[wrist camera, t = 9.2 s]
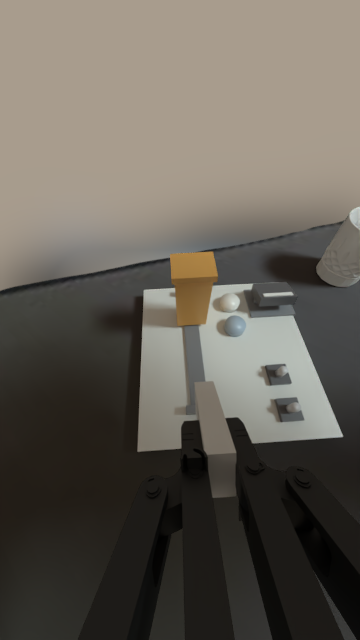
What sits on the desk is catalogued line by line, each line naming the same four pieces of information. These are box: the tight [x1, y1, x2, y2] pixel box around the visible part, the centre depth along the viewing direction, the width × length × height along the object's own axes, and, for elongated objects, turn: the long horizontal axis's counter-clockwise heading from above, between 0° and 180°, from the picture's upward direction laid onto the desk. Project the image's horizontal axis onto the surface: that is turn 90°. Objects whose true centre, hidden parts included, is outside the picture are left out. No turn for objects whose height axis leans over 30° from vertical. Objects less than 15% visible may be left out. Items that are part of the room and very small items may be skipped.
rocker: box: [251, 282, 298, 307], centre depth 29 cm, size 5×4×2 cm
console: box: [137, 282, 343, 452], centre depth 28 cm, size 22×22×4 cm
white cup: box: [316, 207, 360, 287], centre depth 33 cm, size 8×8×10 cm
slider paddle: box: [170, 252, 218, 326], centre depth 25 cm, size 5×4×10 cm
